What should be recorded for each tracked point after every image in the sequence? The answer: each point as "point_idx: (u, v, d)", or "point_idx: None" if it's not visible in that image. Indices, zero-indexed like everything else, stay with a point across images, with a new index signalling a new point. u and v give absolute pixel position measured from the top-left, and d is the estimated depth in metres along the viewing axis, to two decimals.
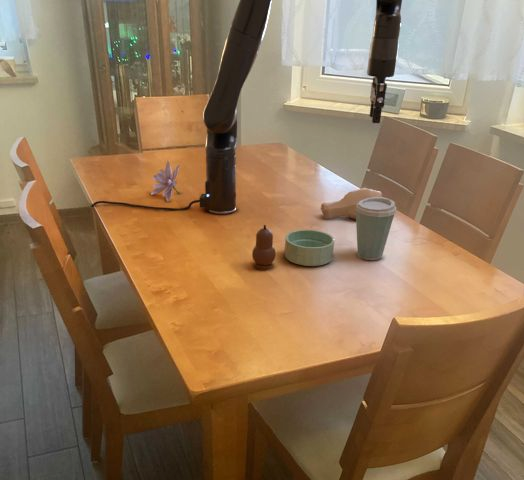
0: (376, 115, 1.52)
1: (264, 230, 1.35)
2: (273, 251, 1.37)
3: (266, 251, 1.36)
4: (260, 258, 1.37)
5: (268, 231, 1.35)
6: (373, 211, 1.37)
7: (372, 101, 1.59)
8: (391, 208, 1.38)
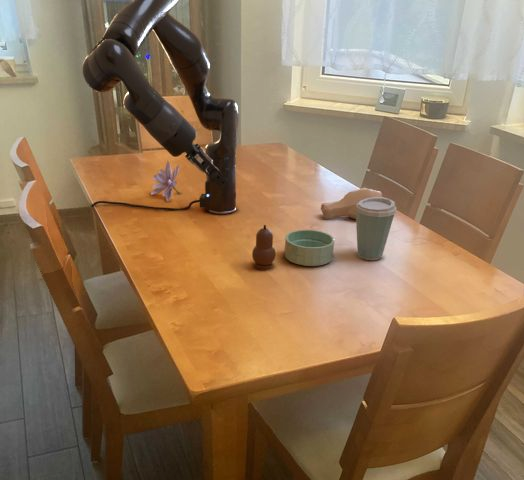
0: (220, 181, 1.20)
1: (264, 230, 1.35)
2: (273, 251, 1.37)
3: (266, 251, 1.36)
4: (260, 258, 1.37)
5: (268, 231, 1.35)
6: (373, 211, 1.37)
7: None
8: (391, 208, 1.38)
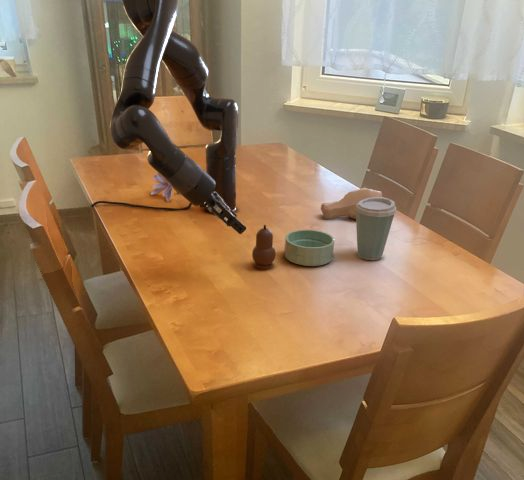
0: (237, 227, 1.27)
1: (264, 230, 1.35)
2: (273, 251, 1.37)
3: (266, 251, 1.36)
4: (260, 258, 1.37)
5: (268, 231, 1.35)
6: (373, 211, 1.37)
7: None
8: (391, 208, 1.38)
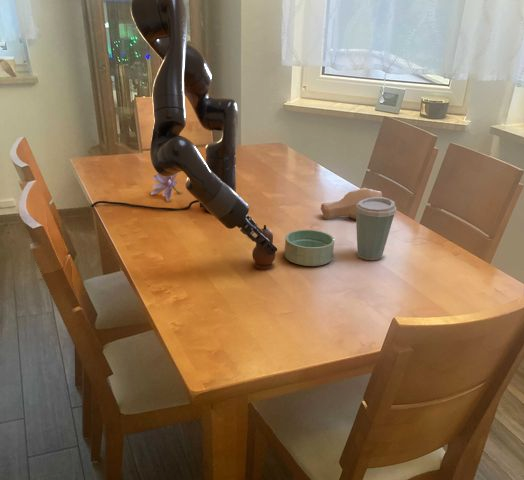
0: (269, 249, 1.34)
1: (264, 230, 1.35)
2: None
3: (266, 251, 1.36)
4: (260, 258, 1.37)
5: (268, 231, 1.35)
6: (373, 211, 1.37)
7: None
8: (391, 208, 1.38)
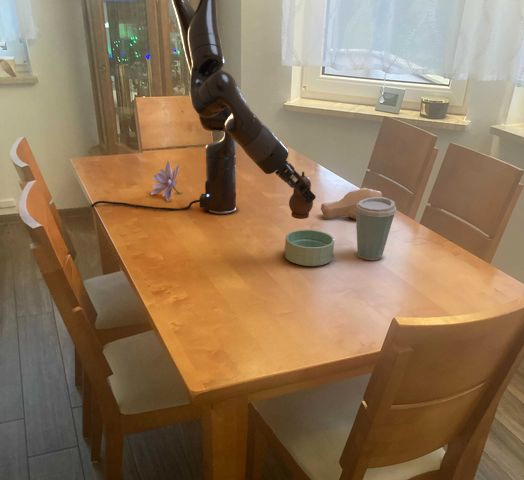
0: (308, 196, 1.32)
1: (302, 177, 1.32)
2: None
3: (304, 199, 1.33)
4: (298, 206, 1.34)
5: (306, 178, 1.32)
6: (373, 211, 1.37)
7: (291, 183, 1.36)
8: (391, 208, 1.38)
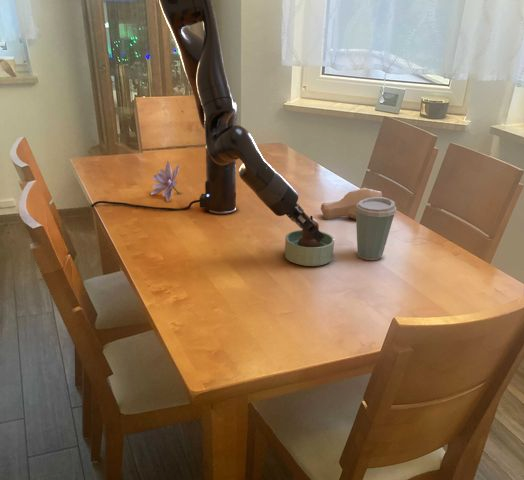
0: (317, 236, 1.37)
1: (311, 221, 1.40)
2: None
3: (312, 241, 1.41)
4: None
5: (314, 222, 1.40)
6: (373, 211, 1.37)
7: None
8: (391, 208, 1.38)
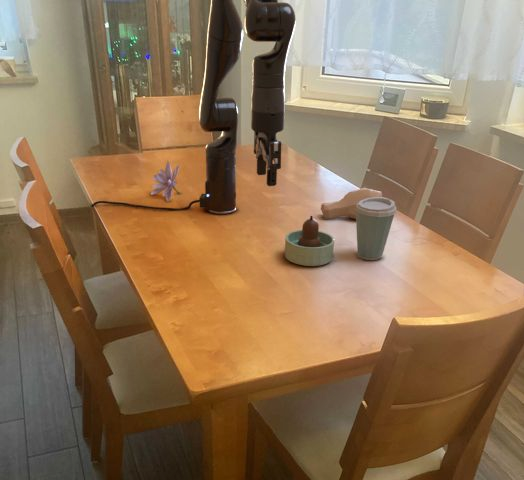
0: (272, 177, 1.26)
1: (311, 221, 1.40)
2: (318, 241, 1.42)
3: (312, 241, 1.41)
4: None
5: (314, 222, 1.40)
6: (373, 211, 1.37)
7: (258, 157, 1.32)
8: (391, 208, 1.38)
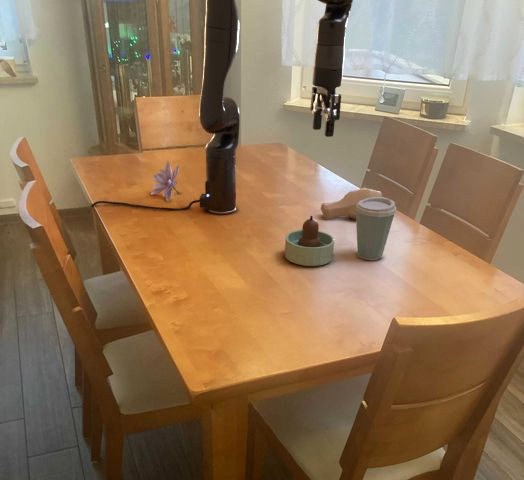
0: (330, 128, 1.41)
1: (311, 221, 1.40)
2: (318, 241, 1.42)
3: (312, 241, 1.41)
4: None
5: (314, 222, 1.40)
6: (373, 211, 1.37)
7: (315, 113, 1.47)
8: (391, 208, 1.38)
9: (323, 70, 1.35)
